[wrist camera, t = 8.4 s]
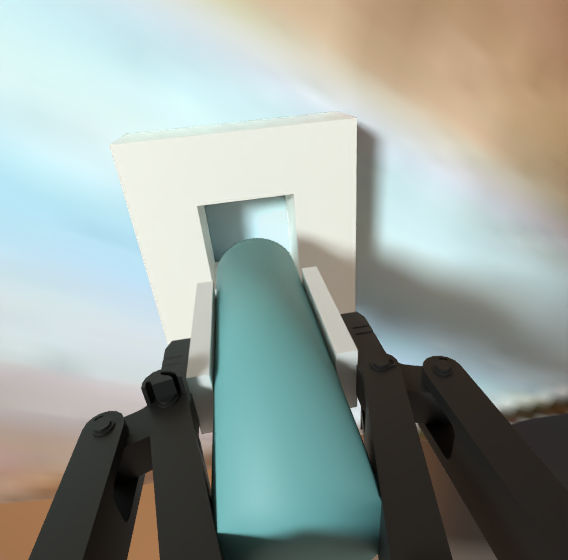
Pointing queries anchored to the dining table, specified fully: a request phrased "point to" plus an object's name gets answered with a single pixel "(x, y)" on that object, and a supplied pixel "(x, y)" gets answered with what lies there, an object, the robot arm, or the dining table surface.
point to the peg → (283, 423)
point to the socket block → (240, 199)
